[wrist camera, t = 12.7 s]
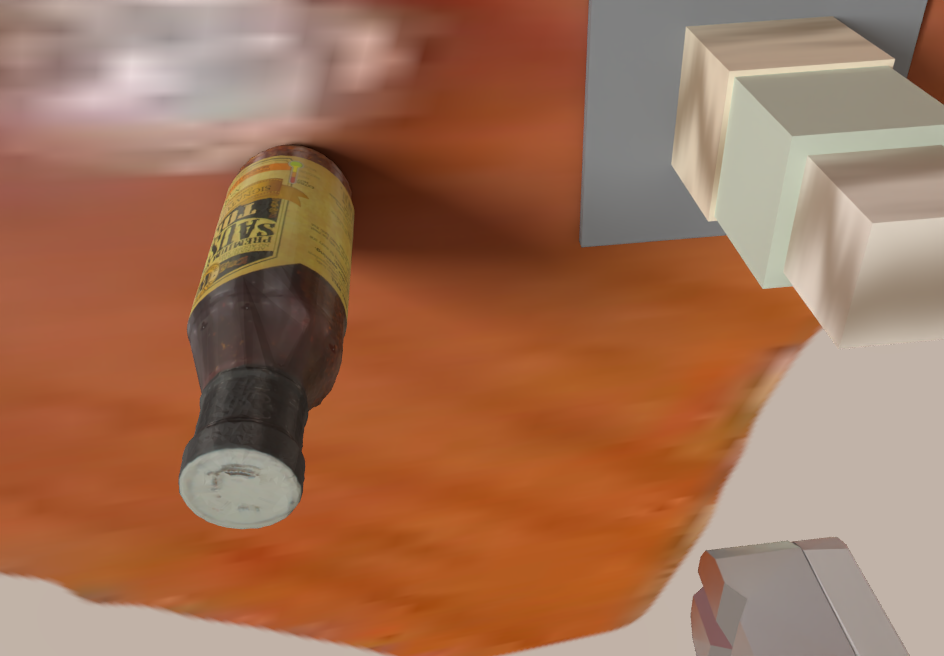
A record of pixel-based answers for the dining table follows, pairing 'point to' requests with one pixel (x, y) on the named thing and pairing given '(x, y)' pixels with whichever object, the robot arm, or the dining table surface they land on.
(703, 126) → the birch block
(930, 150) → the cream cube
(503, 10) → the dining table surface
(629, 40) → the slate mat
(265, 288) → the sauce bottle
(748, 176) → the sage block
